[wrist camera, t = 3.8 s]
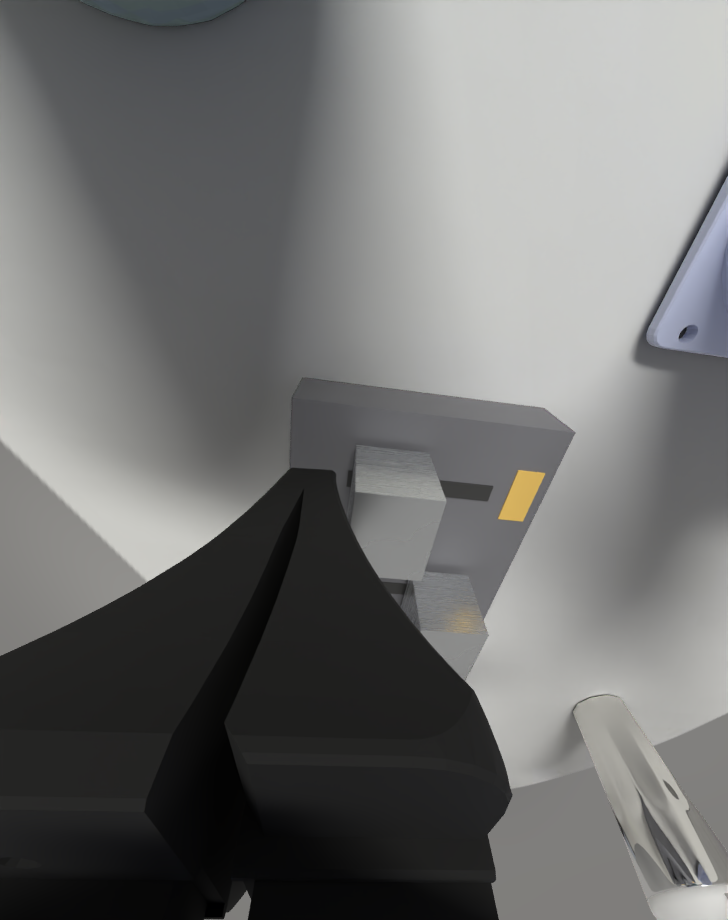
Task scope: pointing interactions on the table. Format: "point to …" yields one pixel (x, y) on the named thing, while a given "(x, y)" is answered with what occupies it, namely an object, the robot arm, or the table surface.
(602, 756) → the milkshake
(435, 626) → the knob
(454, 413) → the switch panel
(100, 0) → the teal plant pot
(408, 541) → the knob
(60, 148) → the table surface
